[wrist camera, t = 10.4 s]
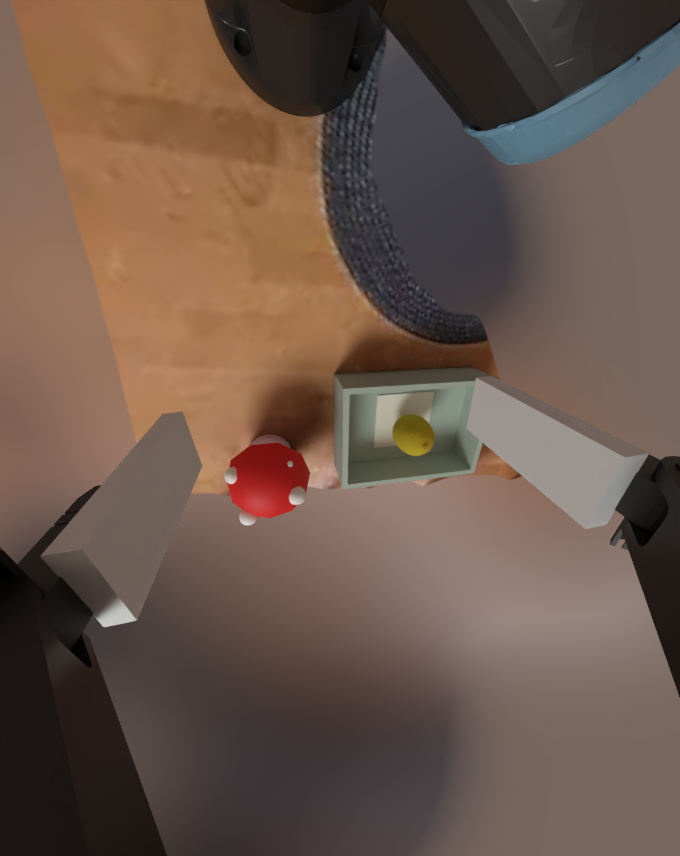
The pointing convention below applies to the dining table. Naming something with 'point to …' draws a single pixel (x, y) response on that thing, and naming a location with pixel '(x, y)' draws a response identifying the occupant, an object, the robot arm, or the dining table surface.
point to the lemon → (413, 435)
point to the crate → (383, 405)
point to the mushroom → (267, 479)
